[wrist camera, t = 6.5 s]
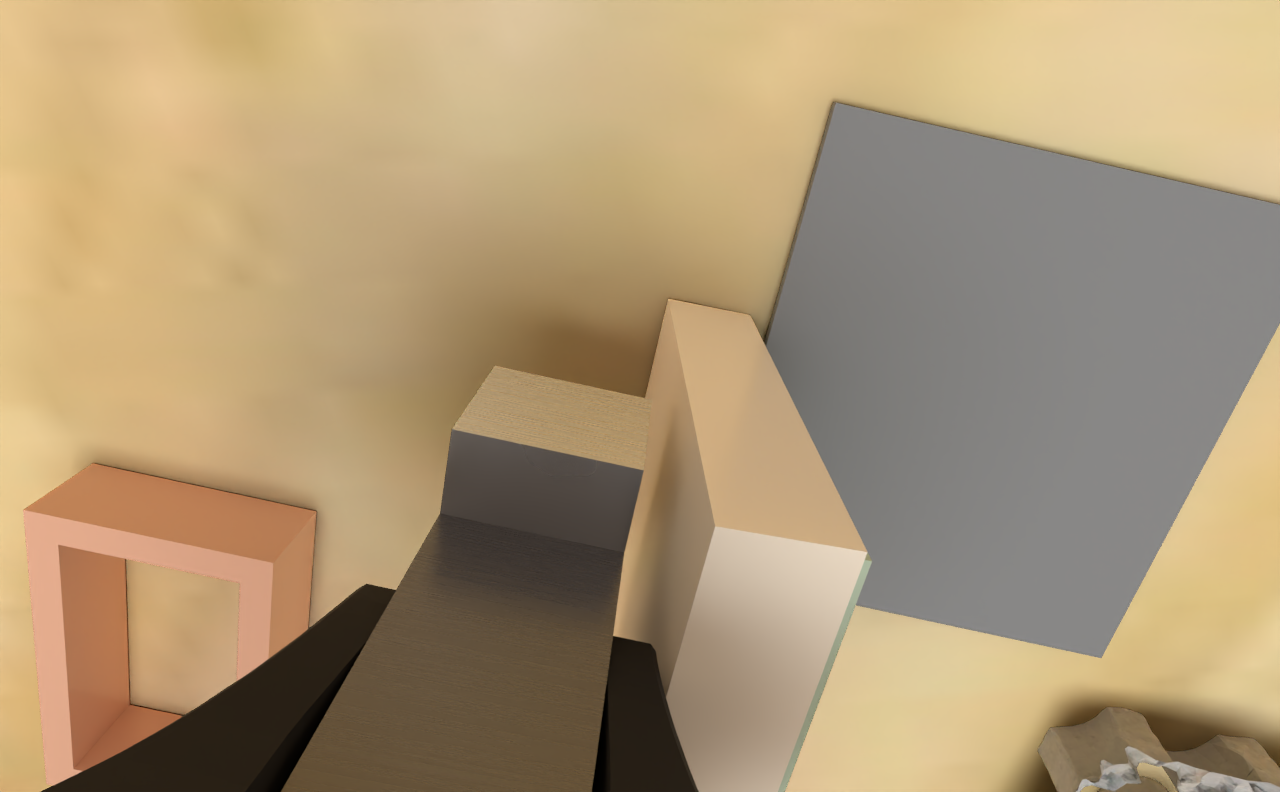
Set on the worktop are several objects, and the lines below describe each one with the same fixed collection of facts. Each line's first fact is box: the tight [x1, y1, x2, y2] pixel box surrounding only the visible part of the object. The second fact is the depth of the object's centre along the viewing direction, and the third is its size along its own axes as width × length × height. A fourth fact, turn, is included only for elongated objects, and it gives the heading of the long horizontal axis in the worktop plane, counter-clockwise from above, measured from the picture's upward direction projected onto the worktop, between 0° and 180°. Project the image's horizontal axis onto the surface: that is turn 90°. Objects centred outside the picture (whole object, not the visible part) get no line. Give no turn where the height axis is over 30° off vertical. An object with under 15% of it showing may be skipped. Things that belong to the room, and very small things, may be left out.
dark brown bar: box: [281, 366, 652, 792], centre depth 12 cm, size 3×6×10 cm, turn 168°
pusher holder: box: [23, 463, 316, 785], centre depth 23 cm, size 6×9×2 cm
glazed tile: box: [613, 299, 872, 792], centre depth 16 cm, size 7×2×10 cm, turn 168°
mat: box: [764, 102, 1280, 658], centre depth 20 cm, size 12×11×1 cm
